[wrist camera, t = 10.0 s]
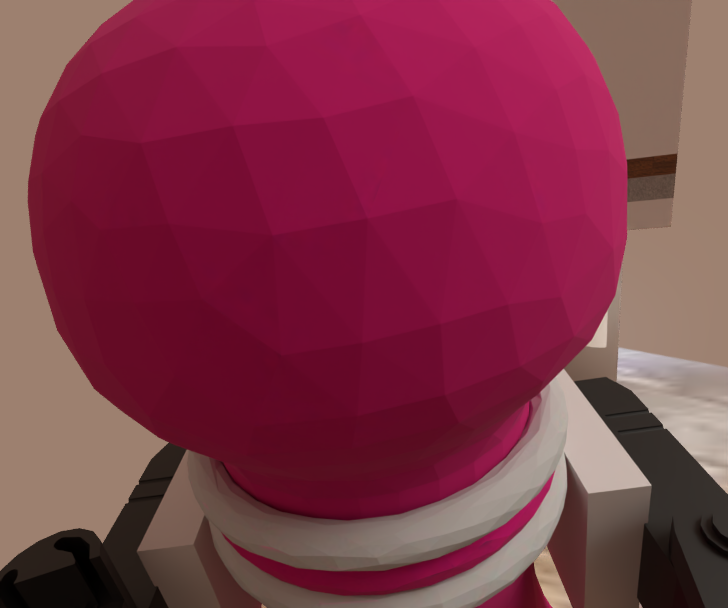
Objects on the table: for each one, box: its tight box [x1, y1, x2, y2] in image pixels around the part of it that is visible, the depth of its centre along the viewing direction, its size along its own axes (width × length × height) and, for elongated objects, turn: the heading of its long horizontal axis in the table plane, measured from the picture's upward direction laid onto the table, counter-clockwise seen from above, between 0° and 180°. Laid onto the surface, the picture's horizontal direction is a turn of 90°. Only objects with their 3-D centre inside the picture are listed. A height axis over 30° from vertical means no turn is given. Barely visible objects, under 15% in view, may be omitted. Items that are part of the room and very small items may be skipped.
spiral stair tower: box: [551, 0, 692, 382], centre depth 29 cm, size 11×11×35 cm
